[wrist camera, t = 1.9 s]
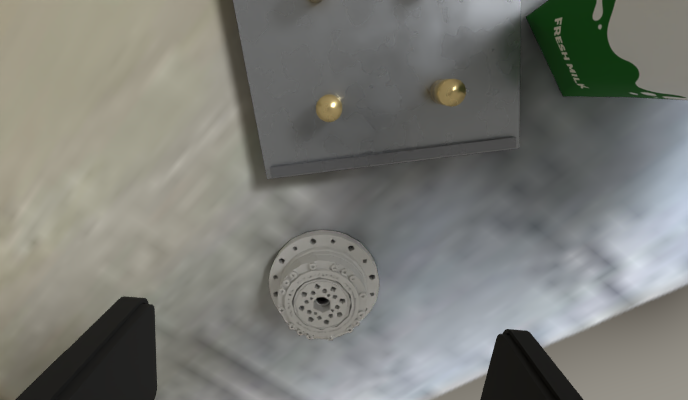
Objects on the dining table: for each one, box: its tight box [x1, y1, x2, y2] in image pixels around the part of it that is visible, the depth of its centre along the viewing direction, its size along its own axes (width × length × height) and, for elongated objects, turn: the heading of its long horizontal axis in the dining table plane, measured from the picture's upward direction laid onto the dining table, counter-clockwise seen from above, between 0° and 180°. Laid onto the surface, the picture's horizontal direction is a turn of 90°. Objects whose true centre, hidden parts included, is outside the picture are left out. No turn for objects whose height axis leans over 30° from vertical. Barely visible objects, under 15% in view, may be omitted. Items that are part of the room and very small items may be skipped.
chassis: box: [233, 0, 521, 179], centre depth 27 cm, size 20×18×5 cm
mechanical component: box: [269, 230, 379, 341], centre depth 33 cm, size 10×4×10 cm
